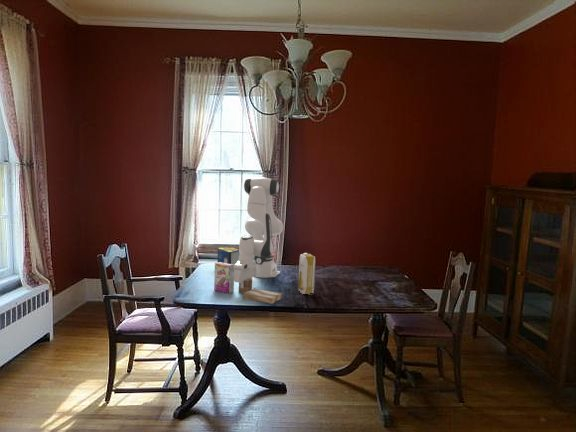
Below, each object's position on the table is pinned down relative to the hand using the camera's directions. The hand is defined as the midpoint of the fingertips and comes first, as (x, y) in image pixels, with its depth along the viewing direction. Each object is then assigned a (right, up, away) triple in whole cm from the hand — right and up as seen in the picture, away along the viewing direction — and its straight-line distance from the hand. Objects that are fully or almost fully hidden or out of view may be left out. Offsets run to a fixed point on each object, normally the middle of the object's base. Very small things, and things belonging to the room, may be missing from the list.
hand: (245, 286), depth 250 cm
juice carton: (+36, -5, +3) cm, 36 cm away
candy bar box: (-13, -3, 0) cm, 13 cm away
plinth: (+11, -5, -11) cm, 16 cm away
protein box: (-17, +3, +50) cm, 53 cm away
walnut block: (0, -3, 0) cm, 3 cm away
